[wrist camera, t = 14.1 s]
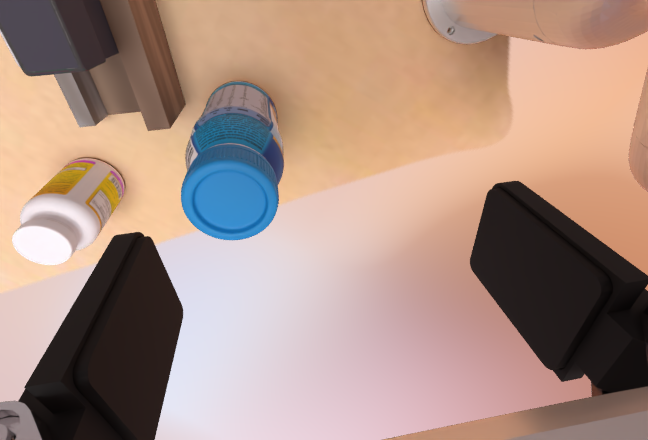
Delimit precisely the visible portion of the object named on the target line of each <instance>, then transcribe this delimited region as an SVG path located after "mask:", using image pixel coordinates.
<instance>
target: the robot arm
mask: <svg viewBox="0 0 648 440" xmlns="http://www.w3.org/2000/svg"><path fill="white" fill-rule="evenodd" d="M423 6H424V10H425V13H426V15H427V18H428V20H429V22H430V24H431V25H432V27H433V28H434V29H435V30H436V31H437V32H438V33H439V34H440V35H441V36H442V37H444V38H446V39H448V40H449V41H453V42H456V43H461V44H475V43H479V42H482V41H486V40H488V39H490V38H492V37H494V36H496V35H497V34H500V35H506V36H511V37H516V38H522V39H527V40H532V41H538V42H543V43H549V44H554V45H559V46H566V47H572V48H579V49H597V48H604V47H608V46H612V45H616V44H619V43H622V42H625V41H628V40H630V39H632V38H634V37H637V36H639V35H641V34H643V33H645V32H647V31H648V0H423ZM448 28H449V31H448V32H447V30H448ZM629 164H630V169H631V172H632V174H633V176H634V178H635V180H636V181H637V182H638V183H639V185H640V186H641V187H642V188H643V189H645V190H646V191H648V69H647V73H646V77H645V82H644V86H643V90H642V94H641V98H640V102H639V106H638V111H637V114H636V118H635V123H634V129H633V133H632V137H631V143H630V149H629ZM470 265H471V268H472V271H473V272H474V273H475V275H476V276H477V277H478V279H479V280H480V281H481V283H482V284H483V285H484V287H485V288H486V289H487V291H488V292H489V293H490V295H491V296H492V297H493V299H494V300H495V301H496V302H497V304H498V305H499V307H500V308H501V309H502V310H503V312H504V313H505V314H506V316H507V317H508V318H509V319H510V321H511V322H512V324H513V325H514V326H515V327H516V328H517V330H518V332H519V333H520V334H521V336H522V337H523V338H524V339H525V341H526V342H527V343H528V344H529V346H530V347H531V349H532V350H533V351H534V353H535V354H536V355H537V357H538V358H539V359H540V361H541V362H542V363H543V364H544V365H545V366H546V367H547V368H548V369H550V370H553V371H554V372H555V374H556V375H557V376H558V378H559V379H560V380H561V381H562V382H563V381H568V380H573V379H578V378H582V377H583V375H584V374H585V375H586V376H587V377H588V378H589V379H590V380H591V390H592V391H591V392H592V397H589V398H584V399H579V400H574V401H569V402H564V403H559V404H554V405H549V406H545V407H539V408H534V409H530V410H524V411H520V412H514V413H509V414H505V415H500V416H495V417H490V418H485V419H480V420H475V421H470V422H465V423H461V424H456V425H451V426H447V427H442V428H437V429H432V430H427V431H422V432H417V433H412V434H407V435H403V436H398V437H393V438H388V439H384V440H648V291H647V290H646V289H645V288H646V286H647V285H648V276H647V275H646V274H645V273H643V272H642V271H641V270H639V269H638V268H636V267H635V266H634V265H632V264H631V263H630V262H628V261H627V260H626V259H624V258H623V257H622V256H620V255H619V254H617V253H616V252H615V251H613V250H612V249H611V248H609V247H608V246H607V245H605V244H604V243H602V242H601V241H599V240H598V239H597V238H596V237H594V236H593V235H592V234H590V233H589V232H587V231H586V230H585V229H584V228H582V227H581V226H579V225H578V224H577V223H575V222H574V221H573V220H571V219H570V218H568V217H567V216H566V215H564V214H563V213H562V212H560V211H559V210H558V209H556V208H555V207H554V206H552V205H551V204H550V203H548V202H547V201H546V200H544V199H543V198H541V197H540V196H539V195H537V194H536V193H535V192H533V191H532V190H531V189H529V188H527V186H525V185H524V184H522V183H521V182H519V181H512V182H504V183H497V184H495V185H494V186H493V188H492V189H491V190H489V192H488V193H487V196H486V200H485V204H484V208H483V212H482V216H481V219H480V223H479V227H478V231H477V235H476V239H475V243H474V246H473V250H472V255H471V258H470ZM182 319H183V308H182V305H181V302H180V300H179V298H178V296H177V293H176V291H175V289H174V287H173V285H172V282H171V280H170V278H169V276H168V273H167V271H166V269H165V267H164V265H163V263H162V260H161V258H160V256H159V254H158V251H157V249H156V247H155V245H154V242H153V240H152V239H151V238H150V237H148V236H147V237H144V235H143V234H142V233H140V232H135V233H128V234H121V235H116V236H114V237H113V238H112V240H111V242H110V243H109V245H108V247H107V248H106V250H105V252H104V253H103V255H102V257H101V259H100V260H99V262H98V264H97V265H96V267H95V269H94V271H93V272H92V274H91V276H90V277H89V279H88V281H87V282H86V284H85V286H84V287H83V289H82V291H81V292H80V294H79V296H78V298H77V299H76V301H75V303H74V304H73V306H72V308H71V309H70V312H69V313H68V315H67V316H66V318H65V320H64V321H63V323H62V325H61V326H60V328H59V330H58V332H57V333H56V335H55V336H54V338H53V340H52V342H51V343H50V345H49V347H48V348H47V350H46V352H45V354H44V355H43V357H42V358H41V360H40V362H39V364H38V365H37V367H36V369H35V370H34V372H33V374H32V375H31V377H30V379H29V381H28V382H27V384H26V386H25V388H26V389H25V391H24V392H23V394H22V396H21V398H20V399H19V401H6V402H0V440H154V439H155V435H156V431H157V427H158V422H159V418H160V413H161V409H162V405H163V401H164V397H165V392H166V388H167V383H168V380H169V375H170V371H171V366H172V362H173V358H174V354H175V349H176V345H177V340H178V336H179V332H180V328H181V323H182Z"/></svg>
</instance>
